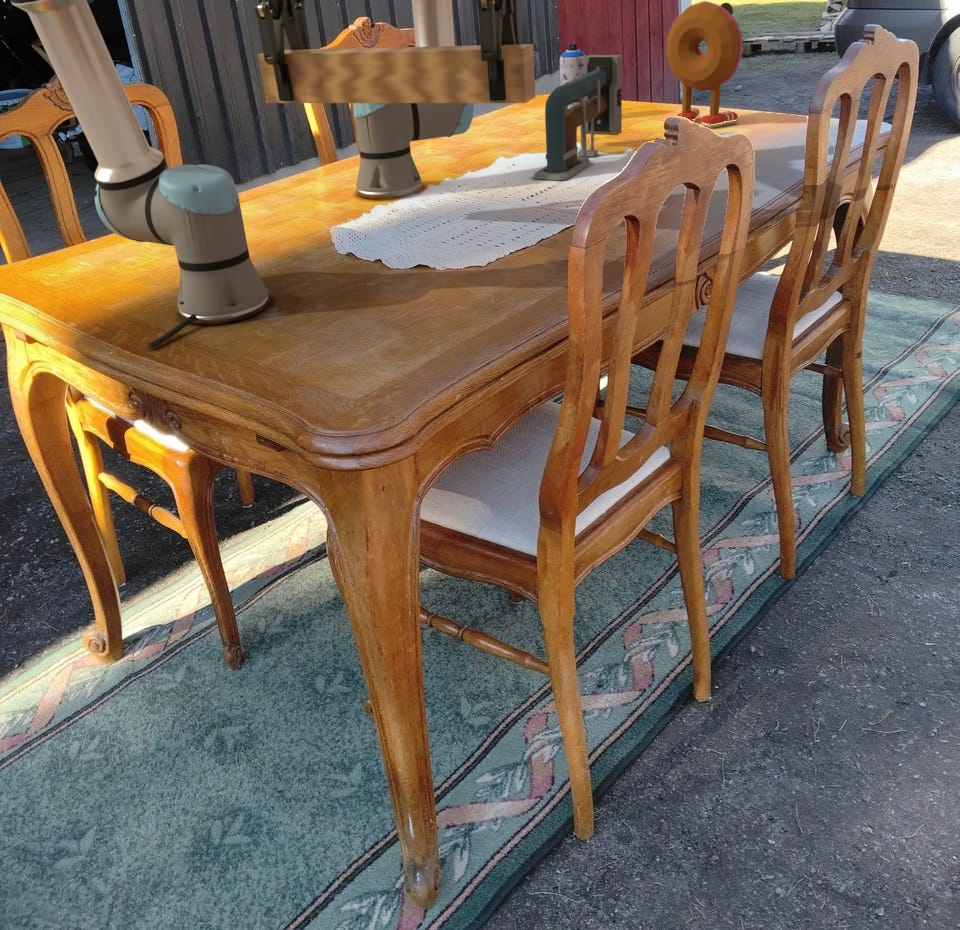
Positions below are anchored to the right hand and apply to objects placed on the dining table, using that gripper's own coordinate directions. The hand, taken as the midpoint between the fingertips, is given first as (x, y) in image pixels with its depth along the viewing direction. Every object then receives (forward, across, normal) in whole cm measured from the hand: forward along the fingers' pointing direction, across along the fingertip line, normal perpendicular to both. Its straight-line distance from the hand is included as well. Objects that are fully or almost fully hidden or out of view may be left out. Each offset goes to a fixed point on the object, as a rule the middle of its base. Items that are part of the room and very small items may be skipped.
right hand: (503, 96), depth 171 cm
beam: (+1, 0, +22) cm, 22 cm away
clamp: (+27, +62, +7) cm, 68 cm away
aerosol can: (+27, +108, +22) cm, 114 cm away
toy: (+27, +104, -15) cm, 109 cm away
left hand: (0, 0, +44) cm, 44 cm away
